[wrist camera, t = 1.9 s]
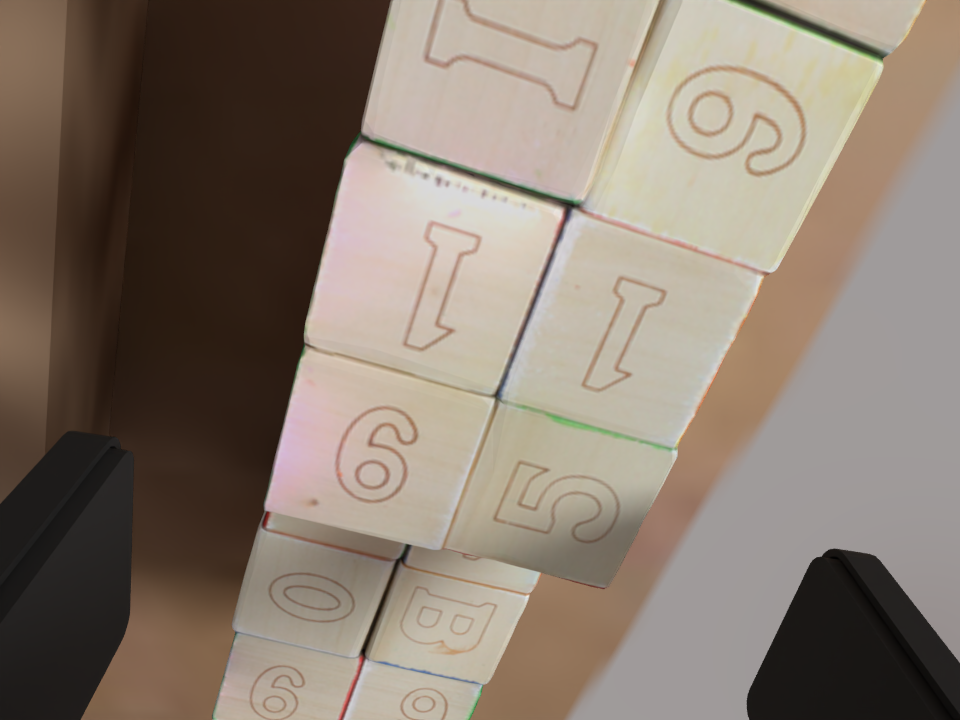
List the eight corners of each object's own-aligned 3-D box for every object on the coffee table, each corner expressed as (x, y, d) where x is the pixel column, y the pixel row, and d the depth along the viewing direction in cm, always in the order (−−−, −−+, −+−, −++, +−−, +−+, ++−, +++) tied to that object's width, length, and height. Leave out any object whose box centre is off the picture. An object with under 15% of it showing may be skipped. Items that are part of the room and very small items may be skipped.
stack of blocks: (448, 536, 28) (445, 900, 17) (278, 493, 27) (156, 850, 16) (716, -109, 19) (1075, -234, 8) (480, -212, 18) (524, -522, 7)
